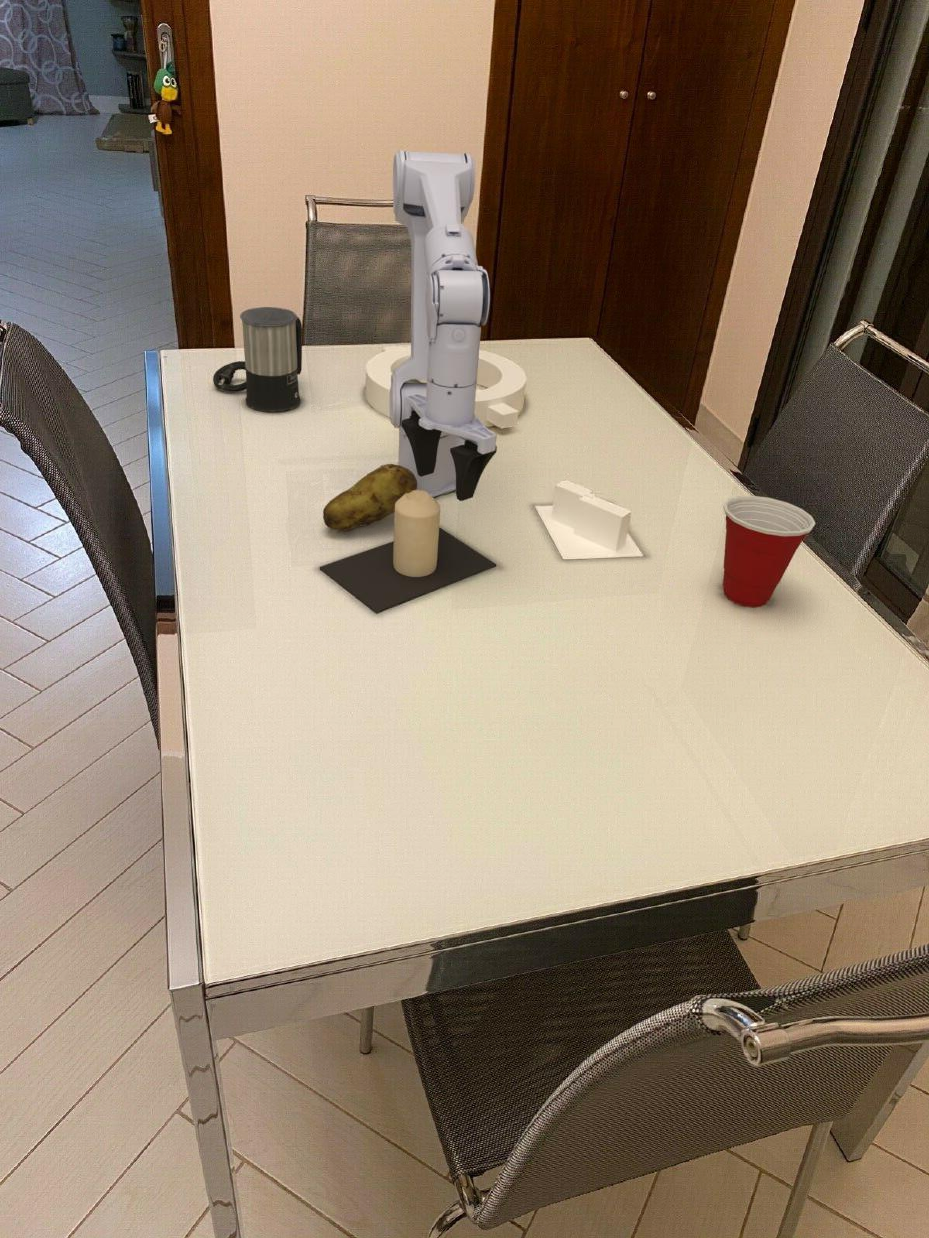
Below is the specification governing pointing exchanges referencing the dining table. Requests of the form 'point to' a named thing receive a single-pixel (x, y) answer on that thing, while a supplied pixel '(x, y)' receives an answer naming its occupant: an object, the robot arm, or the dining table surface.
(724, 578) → the plastic cup
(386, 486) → the potato
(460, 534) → the dining table surface
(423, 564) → the candle
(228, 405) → the dining table surface
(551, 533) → the napkin holder
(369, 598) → the mat
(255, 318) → the milk frother
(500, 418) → the white circle with bar
